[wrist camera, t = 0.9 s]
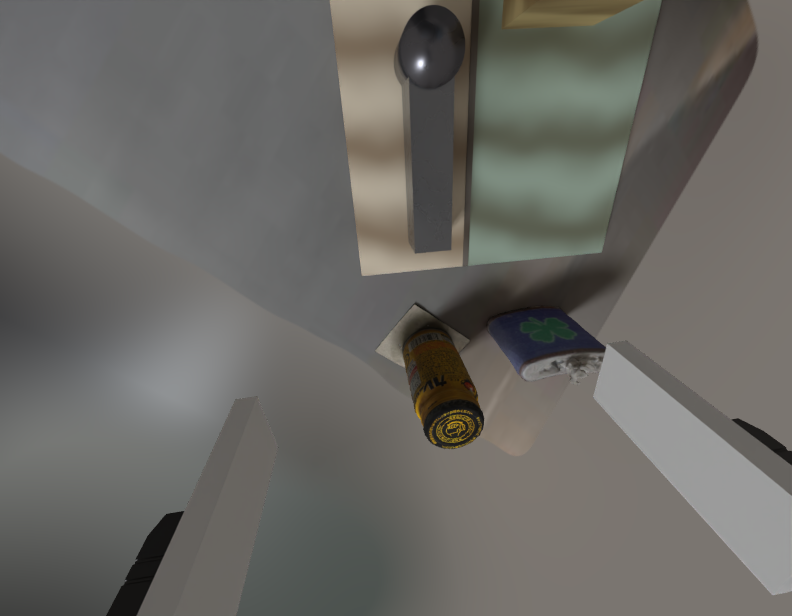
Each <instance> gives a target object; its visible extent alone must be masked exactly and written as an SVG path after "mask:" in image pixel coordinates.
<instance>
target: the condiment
mask: <svg viewBox="0 0 792 616" xmlns="http://www.w3.org/2000/svg"><path fill="white" fill-rule="evenodd" d="M428 325H429V326H428ZM469 341H470V340H469V339H467V338H466V337H464V336H463V335H461V334H460V333H458V332H456V331H455V330H454V329H452V328H451V327H449V326H448V325H446V324H444V323H443V322H441V321H439V320H438V319H436V318H435V317H433V316H432V315H430V314H429V313H427V312H426V311H424V310H422V309H421V308H419V307H418V306H416V305H415V304H414V306H413V307H412V308H411V309H410V310H409V311H408V312H407V313H406V314H405V316H404V317H403V318H402V319H401V320H400V321H399V322H398V324H397V325H396V326H395V327H394V328H393V330H392V331H391V332H390V333H389V334H388V336H387V337H386V338H385V339H384V341H383V342H382V343H381V344H380V346H379V347H378V348H377V349H376V350H375V352H377V353H379V354H380V355H382V356H384V357H386V358H388V359H389V360H392V361H393V362H395V363H397V364H399V365H401V366H403V367H405V368H406V373H407V376H408V382H409V385H410V391H411V396H412V400H413V403H414V409H415V412H416V413H417V415H418V417H419V418H420V420H421V423H422V425H423V427H424V428H423V430H424V433H425V436H426V437H427V439H428V440H429V441H430V442H431V443H432V444H434V445H436V446H438V447H441V448H448V449H455V448H459V447H463V446H465V445H467V444H469V443H471V442H473V441H474V440H475V439H476V438H477V437H478V436H480V433H481V431H482V430H483V426H484V416H483V412H482V411H481V409H480V405H479V403H478V394H477V391H476V388H475V386H474V384H473V382H472V380H471V378H470V376H469V374H468V372H467V370H466V368H465V366H464V364H463V361H462V359H461V357H460V355H459V352H460V351H461V350H462V349H463V348H464V347H465V346H466V345H467V344H468V342H469ZM399 344H401V346H399ZM400 347H402V349H400Z"/></svg>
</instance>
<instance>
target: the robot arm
mask: <svg viewBox="0 0 792 616" xmlns="http://www.w3.org/2000/svg"><path fill="white" fill-rule="evenodd" d="M593 398H594V399H595V400H596V401H597V402H598V403H599V404H600V405H601V406H602V408H603V409H604V410H605V411H606V412H607V413H608V414H609V415H610V416H611V418H612V419H613V420H614V421H615V422H616V423H617V424H618V425H619V426H620V427H621V428H622V430H623V431H624V432H625V433H626V434H627V435H628V436H629V437H630V439H631V440H632V441H633V442H634V443H635V444H636V445H637V446H638V447H639V448H640V450H641V451H642V452H643V453H644V454H645V455H646V456H647V457H648V458H649V459H650V461H651V462H652V463H653V464H654V465H655V466H656V467H657V468H658V469H659V470H660V472H661V473H662V474H663V475H664V476H665V477H666V478H667V479H668V480H669V482H670V483H671V484H672V485H673V486H674V487H675V488H676V489H677V490H678V491H679V493H680V494H681V495H682V496H683V497H684V498H685V499H686V500H687V501H688V503H689V504H690V505H691V506H692V507H693V508H694V509H695V510H696V511H697V512H698V513H699V515H700V516H701V517H702V518H703V519H704V520H705V521H706V522H707V523H708V525H709V526H710V527H711V528H712V529H713V530H714V531H715V532H716V533H717V534H718V536H719V537H720V538H721V539H722V540H723V541H724V542H725V543H726V544H727V546H728V547H729V548H730V549H731V550H732V551H733V552H734V553H735V554H736V555H737V557H738V558H739V559H740V560H741V561H742V562H743V563H744V564H745V565H746V566H747V568H748V569H749V570H750V571H751V572H752V573H753V574H754V575H755V576H756V577H757V579H758V580H759V581H760V582H761V583H762V584H763V585H764V586H765V587H766V589H767V590H768V591H769V592H770V593H771V594H772V595H776V594H781V593H786V592H791V591H792V451H788V450H787V449H786V447H785V446H783V445H782V444H781V443H779V442H778V441H777V440H775V439H774V438H772V437H771V436H770V435H768V434H767V433H765V432H764V431H762V430H760V429H758V428H756V427H754V426H752V425H750V424H748V423H746V422H744V421H742V420H740V419H732V420H731V419H729V418H728V417H727V416H726V415H724V414H723V413H722V412H720V411H719V410H718V409H716V408H715V407H714V406H712V405H711V404H710V403H708V402H707V401H706V400H704V399H703V398H702V397H700V396H699V395H698V394H696V393H695V392H694V391H693V390H691V389H690V388H689V387H687V386H686V385H685V384H683V383H682V382H680V381H679V380H678V379H677V378H675V377H674V376H673V375H671V374H670V373H669V372H667V371H666V370H665V369H663V368H662V367H661V366H660V365H658V364H657V363H655V362H654V361H653V360H651V359H650V358H649V357H648V356H646V355H645V354H644V353H642V352H641V351H640V350H638V349H637V348H636V347H634V346H633V345H632V344H630V343H629V342H628V341H621V342H615V343H608V344H607V347H606V351H605V354H604V358H603V362H602V366H601V370H600V373H599V377H598V381H597V385H596V389H595V393H594V397H593ZM277 450H278V446H277V443H276V441H275V438H274V436H273V433H272V431H271V429H270V426H269V424H268V421H267V419H266V417H265V414H264V412H263V410H262V407H261V404H260V402H259V399H258V397H257V396H255V397H248V398H242V399H236V400H235V402H234V404H233V406H232V409H231V411H230V413H229V415H228V417H227V419H226V421H225V424H224V426H223V428H222V430H221V432H220V434H219V437H218V439H217V441H216V443H215V446H214V448H213V450H212V452H211V455H210V456H209V459H208V461H207V463H206V465H205V467H204V469H203V472H202V474H201V476H200V478H199V480H198V483H197V485H196V487H195V489H194V492H193V494H192V496H191V498H190V500H189V502H188V505H187V507H186V509H185V511H181V512H176V513H170V514H166V515H165V516H164V517H163V518H162V520H161V521H160V522H159V523H158V524H157V526H156V527H155V528H154V529H153V530H152V531H151V533H150V534H149V535H148V536H147V538H146V540H145V542H144V544H143V547H142V548H141V550H140V552H139V554H138V556H137V558H136V562H135V564H134V565H132V567H131V569H130V571H129V573H128V575H127V577H126V579H125V584H124V585H123V586H121V589H120V590H119V593H118V594H117V596H116V598H115V600H114V602H113V604H112V606H111V608H110V609H109V612H108V613H107V615H106V616H236V614H237V610H238V606H239V602H240V598H241V594H242V590H243V586H244V582H245V578H246V574H247V570H248V566H249V562H250V558H251V554H252V550H253V546H254V542H255V538H256V534H257V530H258V526H259V522H260V518H261V514H262V510H263V506H264V502H265V498H266V494H267V490H268V486H269V482H270V478H271V474H272V470H273V466H274V462H275V458H276V454H277Z"/></svg>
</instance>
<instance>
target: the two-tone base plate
mask: <svg viewBox="0 0 792 616" xmlns="http://www.w3.org/2000/svg"><path fill="white" fill-rule="evenodd" d="M661 2H662V0H330V6H331V15H332V23H333V32H334V40H335V49H336V57H337V66H338V75H339V83H340V92H341V100H342V109H343V118H344V126H345V135H346V143H347V152H348V160H349V169H350V178H351V186H352V195H353V203H354V212H355V220H356V229H357V238H358V246H359V255H360V263H361V272H362V276H367V275H377V274H387V273H398V272H408V271H418V270H428V269H438V268H448V267H459V266H469V265H479V264H489V263H499V262H509V261H520V260H530V259H540V258H550V257H560V256H570V255H581V254H591V253H601V252H602V248H603V244H604V240H605V236H606V232H607V228H608V223H609V219H610V215H611V211H612V207H613V202H614V198H615V194H616V190H617V186H618V182H619V177H620V173H621V169H622V165H623V161H624V157H625V152H626V148H627V144H628V140H629V136H630V131H631V127H632V123H633V119H634V115H635V111H636V106H637V102H638V98H639V94H640V90H641V86H642V81H643V77H644V73H645V69H646V65H647V60H648V56H649V52H650V48H651V44H652V40H653V35H654V31H655V27H656V23H657V19H658V15H659V10H660V6H661ZM428 5H439V6H443V7H445V8H447V9H449V10H450V11H451V12H453V13H454V15H455V16H456V17H457V18H458V20H459V21H460V23H461V25H462V28H463V31H464V35H465V54H464V59H463V62H462V65H461V67H460V69H459V71H458V72H457V74H456V75H455V84H454V138H453V191H452V244H451V250H448V251H438V252H427V253H417V254H415V253H414V251H413V249H412V248H411V246H410V244H409V242H408V221H407V198H406V175H405V152H404V129H403V106H402V86H401V85H400V83H399V81H398V79H397V77H396V74H395V70H394V54H395V50H396V47H397V44H398V42H399V40H400V37H401V35H402V33H403V30H404V28H405V26H406V24H407V22H408V20H409V19H410V18H411V16H412V15H413V14H414V13H415V12H416V11H418V10H419V9H421V8H423V7H425V6H428Z"/></svg>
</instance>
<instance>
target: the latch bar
mask: <svg viewBox="0 0 792 616" xmlns="http://www.w3.org/2000/svg"><path fill="white" fill-rule="evenodd" d="M464 54H465V35H464V31H463V28H462V25H461V23H460V21H459V20H458V18H457V17H456V16H455V15H454V13H453V12H451V11H450V10H449V9H447V8H445V7H443V6H439V5H428V6H425V7H423V8H421V9H419V10H418V11H416V12H415V13H414V14H413V15H412V16H411V18H410V19H409V20H408V22H407V24H406V26H405V28H404V30H403V33H402V35H401V37H400V40H399V42H398V44H397V47H396V50H395V54H394V70H395V74H396V77H397V79H398V81H399V83H400V85H401V86H402V106H403V129H404V152H405V175H406V198H407V221H408V242H409V244H410V246H411V248H412V249H413V251H414V253H415V254H417V253H427V252H438V251H448V250H451V244H452V191H453V138H454V84H455V75H456V74H457V72H458V71H459V69H460V67H461V65H462V62H463V59H464Z"/></svg>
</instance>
